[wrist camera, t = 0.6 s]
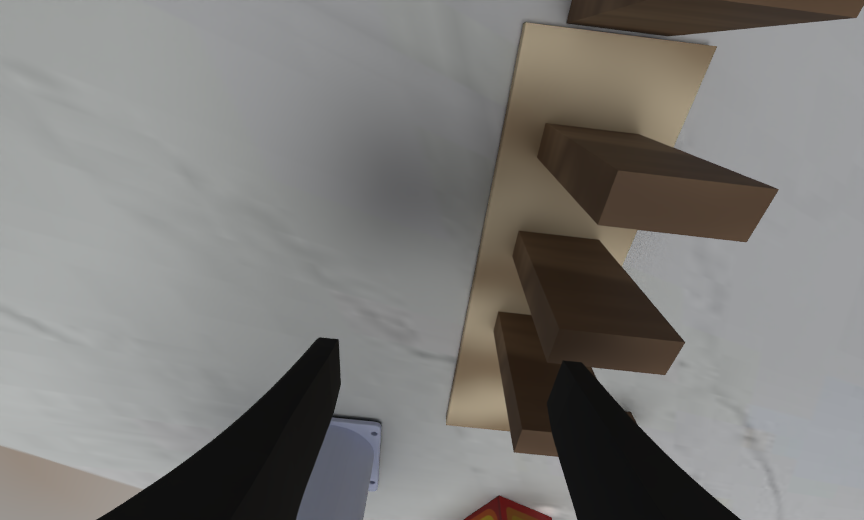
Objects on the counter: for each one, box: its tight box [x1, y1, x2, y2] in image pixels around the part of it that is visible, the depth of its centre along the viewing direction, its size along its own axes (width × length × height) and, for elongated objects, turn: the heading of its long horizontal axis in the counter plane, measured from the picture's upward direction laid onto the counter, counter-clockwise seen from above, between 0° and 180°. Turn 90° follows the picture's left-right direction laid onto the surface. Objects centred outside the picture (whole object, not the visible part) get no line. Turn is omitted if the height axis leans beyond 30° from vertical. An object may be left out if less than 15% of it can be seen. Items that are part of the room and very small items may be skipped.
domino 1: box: [493, 311, 597, 457], centre depth 19 cm, size 2×4×8 cm, turn 84°
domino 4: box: [512, 231, 685, 375], centre depth 16 cm, size 2×4×8 cm, turn 84°
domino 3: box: [537, 123, 779, 242], centre depth 13 cm, size 2×4×8 cm, turn 84°
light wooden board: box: [446, 23, 717, 431], centre depth 21 cm, size 26×8×1 cm, turn 174°
